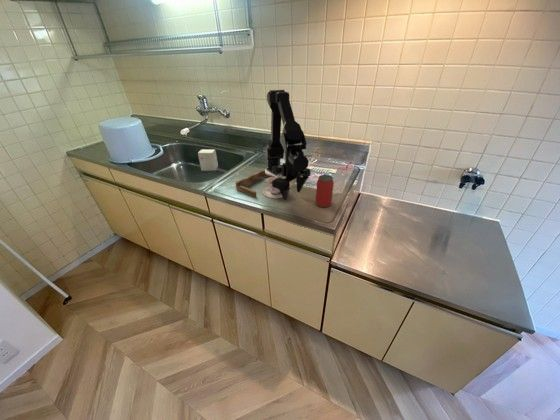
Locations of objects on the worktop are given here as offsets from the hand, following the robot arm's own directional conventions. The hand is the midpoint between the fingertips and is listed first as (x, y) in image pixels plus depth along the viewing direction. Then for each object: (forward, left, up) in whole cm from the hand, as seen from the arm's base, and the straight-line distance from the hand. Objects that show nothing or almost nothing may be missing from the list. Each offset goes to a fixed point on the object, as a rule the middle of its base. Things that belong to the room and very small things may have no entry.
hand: (291, 196), depth 104 cm
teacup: (-1, -10, -2) cm, 10 cm away
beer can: (-6, +12, -2) cm, 14 cm away
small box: (+2, -56, -2) cm, 56 cm away
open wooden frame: (0, -20, -2) cm, 20 cm away
